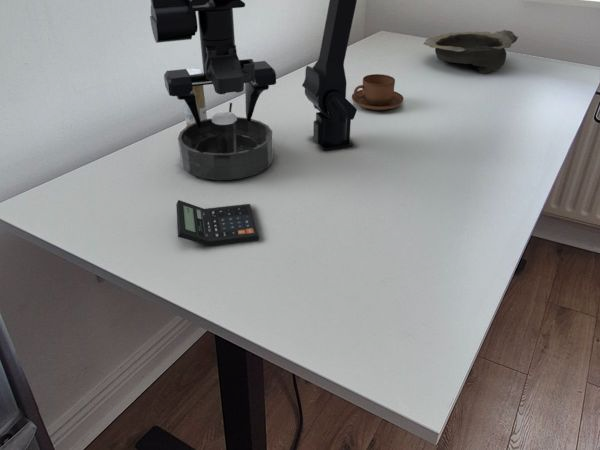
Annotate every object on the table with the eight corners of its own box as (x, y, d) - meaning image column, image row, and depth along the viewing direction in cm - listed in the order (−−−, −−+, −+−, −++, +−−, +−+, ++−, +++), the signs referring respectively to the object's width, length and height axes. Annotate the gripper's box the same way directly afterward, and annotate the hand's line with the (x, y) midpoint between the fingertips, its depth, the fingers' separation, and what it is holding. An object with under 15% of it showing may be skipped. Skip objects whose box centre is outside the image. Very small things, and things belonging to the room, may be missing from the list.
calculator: (258, 240, 82) (257, 223, 80) (179, 249, 80) (177, 232, 78) (250, 208, 90) (249, 192, 88) (178, 216, 88) (175, 200, 86)
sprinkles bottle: (212, 136, 114) (206, 72, 107) (192, 141, 112) (184, 76, 104) (203, 129, 117) (196, 66, 110) (183, 133, 115) (175, 70, 108)
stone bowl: (526, 77, 145) (531, 41, 140) (431, 84, 146) (433, 49, 141) (499, 50, 165) (503, 18, 160) (416, 56, 167) (417, 24, 162)
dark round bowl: (258, 137, 113) (257, 112, 110) (284, 173, 100) (284, 146, 97) (175, 149, 109) (171, 123, 106) (191, 189, 95) (187, 161, 92)
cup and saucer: (378, 118, 122) (381, 91, 119) (340, 104, 129) (341, 78, 126) (413, 105, 129) (416, 79, 125) (375, 92, 136) (377, 67, 133)
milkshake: (245, 154, 105) (242, 104, 100) (232, 165, 101) (228, 114, 96) (224, 150, 107) (220, 101, 101) (210, 161, 103) (205, 111, 97)
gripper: (168, 54, 83) (180, 149, 91) (285, 43, 88) (286, 134, 96) (158, 36, 91) (170, 124, 100) (265, 27, 97) (268, 111, 105)
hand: (224, 124), depth 100 cm, fingers open, 9 cm apart
